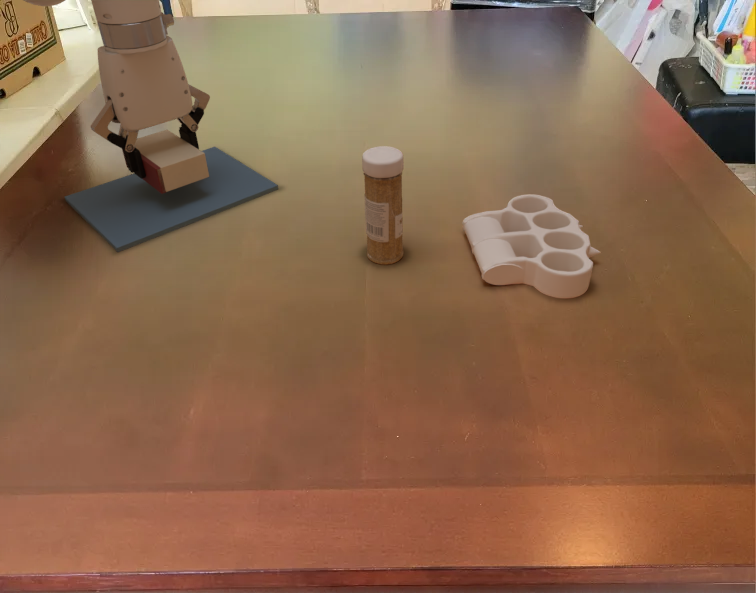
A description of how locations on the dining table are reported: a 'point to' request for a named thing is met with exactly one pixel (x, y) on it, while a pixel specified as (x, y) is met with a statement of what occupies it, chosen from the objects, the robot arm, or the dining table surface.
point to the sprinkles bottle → (383, 203)
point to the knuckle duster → (532, 247)
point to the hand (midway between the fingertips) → (165, 164)
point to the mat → (166, 201)
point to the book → (170, 161)
